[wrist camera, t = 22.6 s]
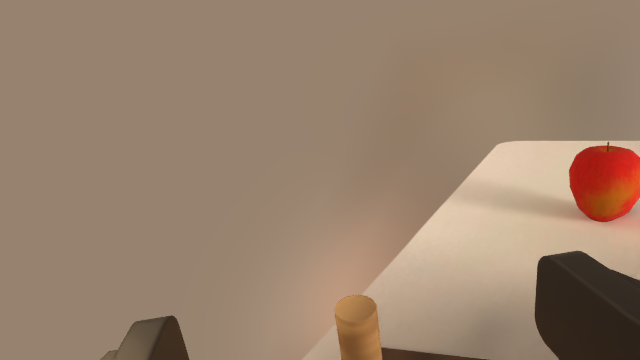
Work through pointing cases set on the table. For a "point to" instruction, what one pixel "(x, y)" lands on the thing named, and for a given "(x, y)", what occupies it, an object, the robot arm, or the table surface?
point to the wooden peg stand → (358, 328)
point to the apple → (605, 181)
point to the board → (418, 355)
